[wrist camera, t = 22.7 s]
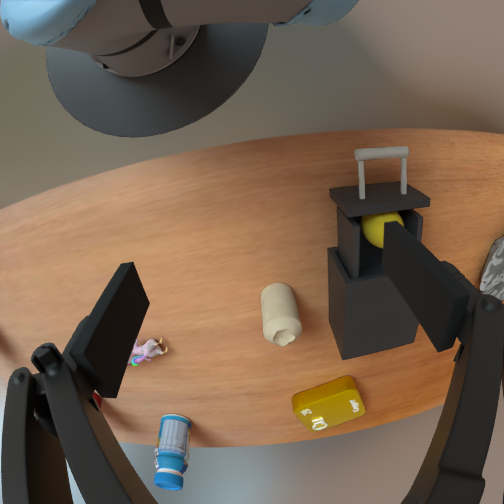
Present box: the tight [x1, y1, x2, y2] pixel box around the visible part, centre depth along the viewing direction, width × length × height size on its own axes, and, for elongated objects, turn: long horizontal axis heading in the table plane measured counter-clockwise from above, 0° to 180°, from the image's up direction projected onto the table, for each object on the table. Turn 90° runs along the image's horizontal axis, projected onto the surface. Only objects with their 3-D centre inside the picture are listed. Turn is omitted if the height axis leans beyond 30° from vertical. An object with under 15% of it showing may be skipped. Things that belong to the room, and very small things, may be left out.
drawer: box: [329, 146, 430, 279], centre depth 37 cm, size 20×12×8 cm, turn 9°
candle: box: [261, 283, 302, 346], centre depth 44 cm, size 6×6×10 cm
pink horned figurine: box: [128, 337, 168, 367], centre depth 51 cm, size 6×6×15 cm
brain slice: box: [479, 235, 504, 302], centre depth 47 cm, size 20×17×3 cm
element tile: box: [292, 376, 366, 432], centre depth 62 cm, size 15×15×5 cm
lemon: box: [361, 211, 404, 248], centre depth 37 cm, size 6×6×8 cm
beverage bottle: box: [154, 414, 192, 490], centre depth 59 cm, size 8×8×20 cm
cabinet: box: [327, 247, 419, 360], centre depth 44 cm, size 15×13×10 cm
